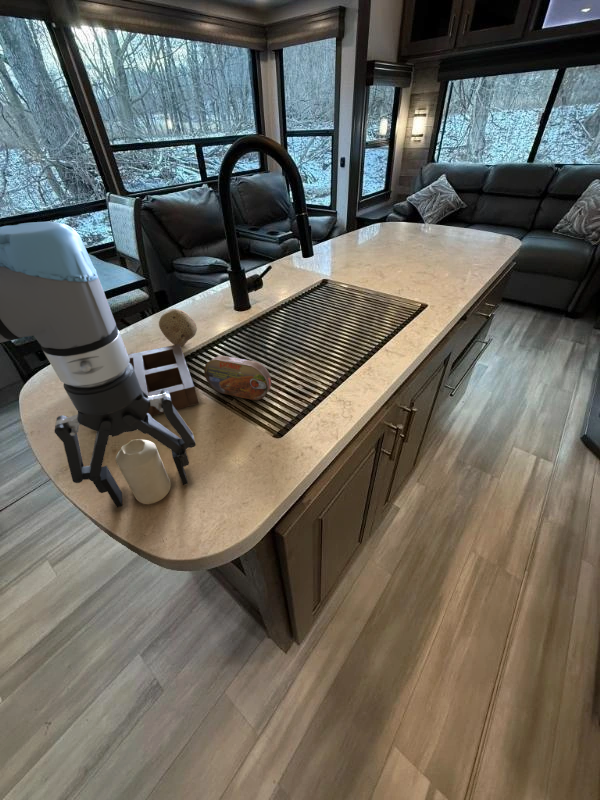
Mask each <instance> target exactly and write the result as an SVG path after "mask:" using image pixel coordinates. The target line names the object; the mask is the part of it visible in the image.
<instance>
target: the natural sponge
mask: <svg viewBox="0 0 600 800" xmlns="http://www.w3.org/2000/svg"><path fill="white" fill-rule="evenodd" d="M158 327H159V329H160V331H161V333H162V334H163V336H164V338H166V339H167V340H168V341H169V342H170V343H171V344H172V345H177V344H180V346H181V347H183V346H185V345H186V344H187V343H188V341H190V340H191V339H193V338H194V337H195V336H196V334H197V331H198V327H197V322H196V321H195V320H194V319H193V318H192V316H191V315H190V314H189V313H188V312H186V311H184V310H183V309H179V308H172V309H169V310H166V311H165V312H164V313H162V315H161V316H160V318H159V320H158Z"/></svg>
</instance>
